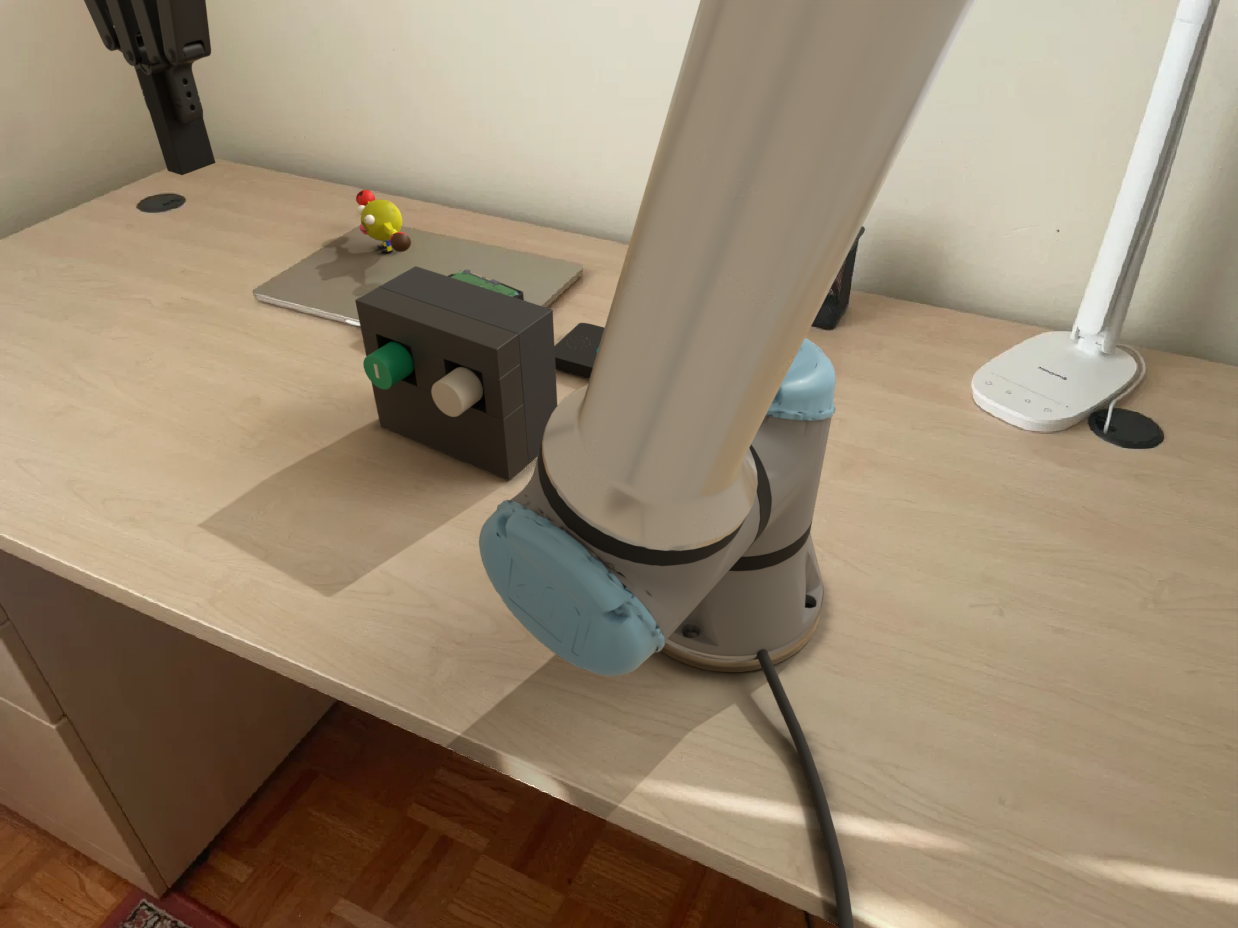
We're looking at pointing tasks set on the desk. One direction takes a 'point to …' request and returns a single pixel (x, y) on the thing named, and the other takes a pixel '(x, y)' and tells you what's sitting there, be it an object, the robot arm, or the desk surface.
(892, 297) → the desk surface
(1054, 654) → the desk surface
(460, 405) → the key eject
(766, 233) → the robot arm
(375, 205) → the toy figure
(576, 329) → the smart home device
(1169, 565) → the desk surface
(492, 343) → the dock
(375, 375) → the key power
